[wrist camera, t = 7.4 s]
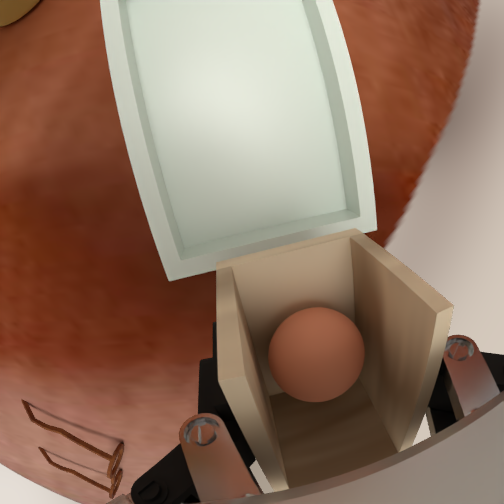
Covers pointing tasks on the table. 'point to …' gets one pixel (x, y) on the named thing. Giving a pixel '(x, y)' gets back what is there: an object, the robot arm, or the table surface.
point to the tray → (238, 125)
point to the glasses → (89, 447)
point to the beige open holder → (375, 363)
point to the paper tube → (14, 10)
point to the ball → (316, 354)
